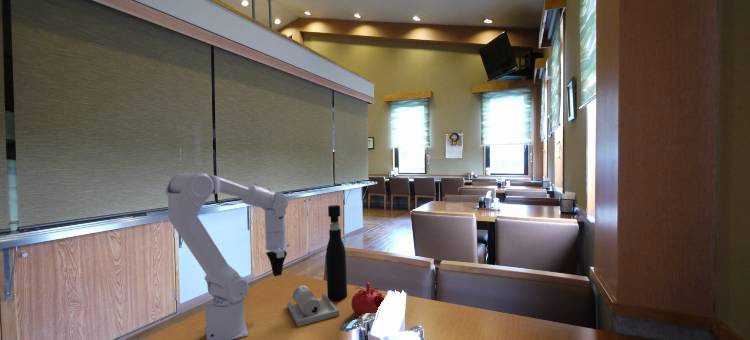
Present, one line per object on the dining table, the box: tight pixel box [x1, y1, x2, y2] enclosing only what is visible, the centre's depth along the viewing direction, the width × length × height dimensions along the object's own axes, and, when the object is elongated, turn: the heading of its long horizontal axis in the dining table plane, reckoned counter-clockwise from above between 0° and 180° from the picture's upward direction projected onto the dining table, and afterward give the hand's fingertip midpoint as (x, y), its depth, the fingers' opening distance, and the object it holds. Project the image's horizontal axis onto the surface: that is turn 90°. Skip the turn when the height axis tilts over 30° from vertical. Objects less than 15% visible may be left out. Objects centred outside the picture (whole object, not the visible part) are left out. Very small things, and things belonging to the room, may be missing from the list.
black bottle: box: [325, 204, 348, 302], centre depth 105 cm, size 6×6×30 cm
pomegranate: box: [350, 282, 386, 318], centre depth 92 cm, size 10×10×9 cm
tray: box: [286, 293, 340, 327], centre depth 96 cm, size 12×14×2 cm
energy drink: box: [292, 285, 320, 317], centre depth 97 cm, size 5×5×12 cm
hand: (277, 275), depth 98 cm, fingers closed
